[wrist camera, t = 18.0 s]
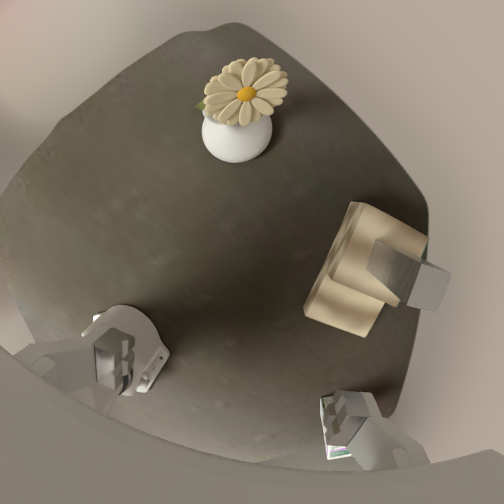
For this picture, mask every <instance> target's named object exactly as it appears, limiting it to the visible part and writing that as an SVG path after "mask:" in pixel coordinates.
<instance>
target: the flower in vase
mask: <svg viewBox="0 0 504 504" xmlns="http://www.w3.org/2000/svg"><path fill="white" fill-rule="evenodd" d="M273 64H274V60H273V59H270V58H269V59H260V60H259V59H258V58H251V59H250V60H248V62H246V60H244V59H239V60H237V61H234V62H232V63H230V65H227V66H225V67H224V68H223V69H222V74H220V75H218V76H214V77H212V79H211V80H210V83H208V84H207V85H206V87H205V91H204V93H205V94H206V95H208V96H207V97H206V98H205V99H204V100H203V101H201V102H200V103H199V104H198V105H197V106H195V107H196V108H198V109H201V110H202V111H203V114H204V116H205V119H204V122H203V126H202V137H203V141H204V144H205V146H206V147H207V149H208V150H209V151H210V152H211V153H212V154H213V155H214V156H215V157H217V158H218V159H220V160H223V161H226V162H231V163H240V162H245V161H248V160H251V159H253V158H255V157H256V156H258V155H259V154H260V153H262V152H263V150H264V149H265V148H266V147H267V145H268V143H269V141H270V139H271V135H272V122H271V118H270V115H272V114H273V113H274V109H273V108H274V107H275V106H276V105H281V104H282V103H283V99H282V97H285V96H286V95H287V91H286V90H285V88H286V84H287V83H288V79H287V78H286V76H287V73H286V72H284V71H280V69H281V67H280V66H279V65H273Z"/></svg>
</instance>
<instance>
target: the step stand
mask: <svg viewBox="0 0 504 504" xmlns="http://www.w3.org/2000/svg"><path fill="white" fill-rule="evenodd" d="M375 240H377V241H380V242H383V243H386V244H389V245H392V246H395V247H398V248H401V249H403V250H405V251H407V252H409V253H411V254H413V255H416V256H418V257H420V258H421V257H422V254H423V252H424V250H425V247H426V245H427V242H428V240H429V238H428V237H427V236H425V235H424V234H422V233H420V232H419V231H417V230H415V229H413V228H412V227H410V226H408V225H406V224H404V223H403V222H401V221H399V220H397V219H395V218H394V217H392V216H390V215H388V214H386V213H384V212H382V211H380V210H379V209H377V208H375V207H373V206H371V205H369V204H367V203H361V202H352V201H351V202H350V205H349V207H348V210H347V212H346V214H345V217H344V219H343V221H342V224H341V226H340V228H339V231H338V233H337V235H336V238H335V240H334V242H333V244H332V247H331V249H330V251H329V253H328V255H327V258H326V260H325V262H324V264H323V266H322V268H321V271H320V273H319V275H318V277H317V279H316V281H315V283H314V285H313V287H312V289H311V291H310V294H309V296H308V298H307V300H306V302H305V304H304V306H303V309H304V313H305V316H307V317H309V318H312V319H315V320H317V321H320V322H323V323H325V324H328V325H331V326H334V327H336V328H339V329H342V330H345V331H348V332H350V333H353V334H356V335H359V336H362V337H366V336H367V334H368V332H369V331H370V329H371V327H372V325H373V324H374V322H375V320H376V318H377V317H378V315H379V313H380V311H381V309H382V308H383V306H384V304H385V303H387V304H390V305H392V306H394V307H397V306H398V304H399V302H400V299H399V298H398V297H397V296H396V295H394V294H393V293H392V292H391V291H390V290H389V289H388V288H387V287H386V286H385V285H383V284H382V283H381V282H380V281H379V280H378V279H377V278H375V277H374V276H373V275H372V274H371V273H370V272H369V271H367V270H366V267H367V264H368V261H369V257H370V254H371V251H372V248H373V245H374V241H375Z"/></svg>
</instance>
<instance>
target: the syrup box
mask: <svg viewBox="0 0 504 504" xmlns="http://www.w3.org/2000/svg"><path fill="white" fill-rule="evenodd" d="M332 397H333V396H327V397H321V398H320V415H321V420H322V425H323V432H324V439H325V446H326V454H327V459H328V460H330V459H336V458H342V457H348V456H352V455H351V453H350V452H349V451H348V450H347V449H346V447H342V446H330V445H327V443H326V437H325V433H326V431H327V429H326V427H325V426H324V424H323V416H324V412H325V409H326V407H327V406H328V404H330V403H332V402H333V398H332Z"/></svg>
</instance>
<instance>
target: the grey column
mask: <svg viewBox="0 0 504 504" xmlns="http://www.w3.org/2000/svg"><path fill="white" fill-rule="evenodd" d="M366 270H367V271H369V272H370V273H371V274H372V275H373V276H374V277H375V278H377V279H378V280H379V281H380V282H381V283H382V284H383V285H385V286H386V287H387V288H388V289H389V290H390V291H391V292H392V293H393V294H394V295H396V296H397V297H398V298H399V299H400V300H401V301H402V302H403V303H404V304H405V305H407V306H411V307H415V308H419V309H424V310H428V311H432V312H436V313H437V311H438V308H439V306H440V303H441V301H442V299H443V296H444V293H445V291H446V288H447V285H448V283H449V279H450V277H451V273H449V272H447V271H445V270H443V269H441V268H439V267H438V266H436V265H433V264H432V263H430V262H428V261H426V260H424V259H422V258H420V257H418V256H416V255H413V254H411V253H409V252H407V251H405V250H403V249H401V248H398V247H395V246H392V245H389V244H386V243H383V242H380V241H377V240H375V241H374V245H373V248H372V251H371V254H370V257H369V261H368V264H367V267H366Z"/></svg>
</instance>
